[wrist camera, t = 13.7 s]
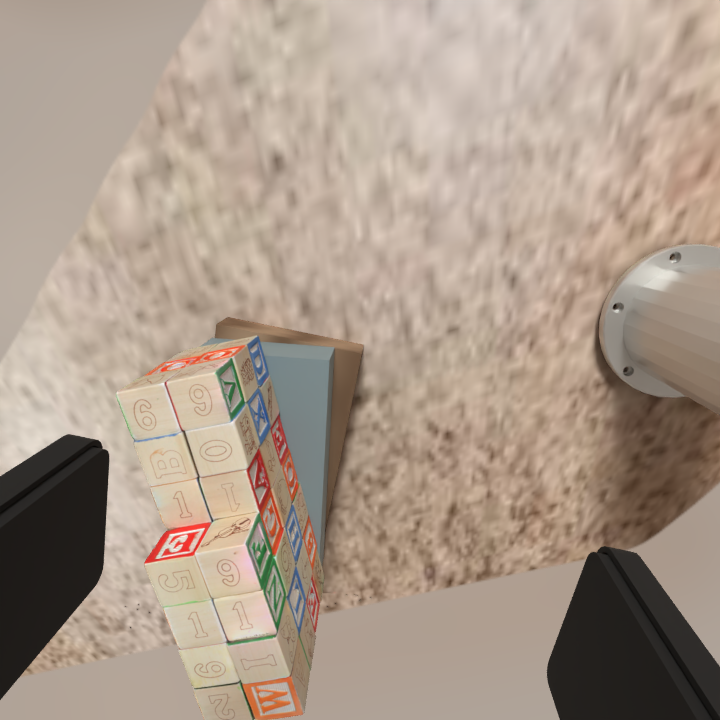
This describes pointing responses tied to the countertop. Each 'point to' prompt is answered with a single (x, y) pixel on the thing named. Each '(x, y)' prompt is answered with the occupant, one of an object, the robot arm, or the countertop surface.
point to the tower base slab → (343, 378)
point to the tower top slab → (304, 417)
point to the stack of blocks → (228, 529)
